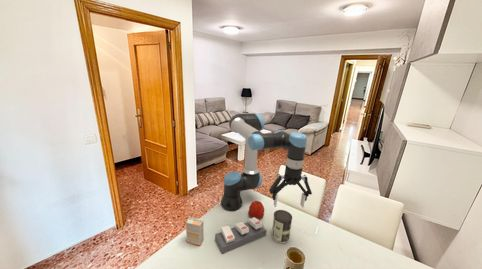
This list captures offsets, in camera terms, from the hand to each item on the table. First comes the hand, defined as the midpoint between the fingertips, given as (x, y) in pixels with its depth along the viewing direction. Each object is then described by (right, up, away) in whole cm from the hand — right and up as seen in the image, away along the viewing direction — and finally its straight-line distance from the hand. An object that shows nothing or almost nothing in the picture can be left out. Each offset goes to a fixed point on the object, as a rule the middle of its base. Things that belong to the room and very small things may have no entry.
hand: (288, 205), depth 94 cm
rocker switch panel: (-23, -24, +14) cm, 36 cm away
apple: (-13, -19, +33) cm, 40 cm away
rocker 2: (-23, -19, +13) cm, 32 cm away
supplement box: (-49, -24, +10) cm, 55 cm away
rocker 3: (-15, -18, +17) cm, 29 cm away
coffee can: (-1, -24, +17) cm, 30 cm away
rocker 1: (-31, -19, +9) cm, 37 cm away
